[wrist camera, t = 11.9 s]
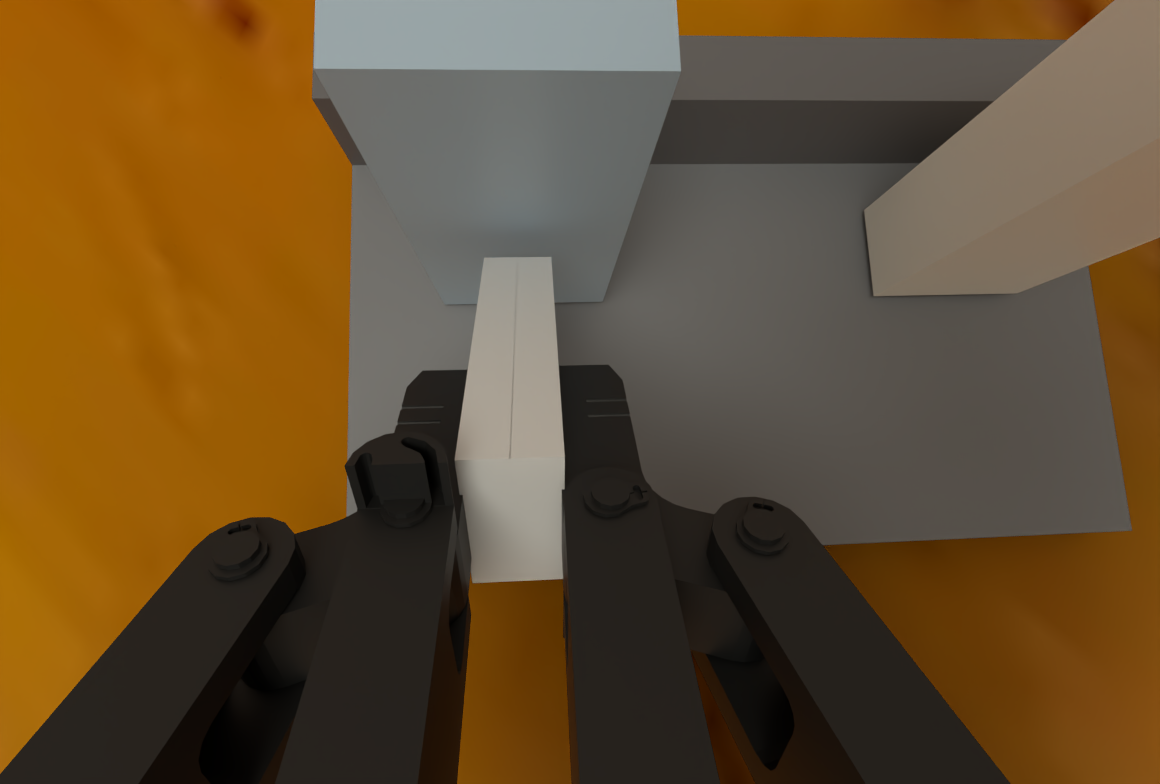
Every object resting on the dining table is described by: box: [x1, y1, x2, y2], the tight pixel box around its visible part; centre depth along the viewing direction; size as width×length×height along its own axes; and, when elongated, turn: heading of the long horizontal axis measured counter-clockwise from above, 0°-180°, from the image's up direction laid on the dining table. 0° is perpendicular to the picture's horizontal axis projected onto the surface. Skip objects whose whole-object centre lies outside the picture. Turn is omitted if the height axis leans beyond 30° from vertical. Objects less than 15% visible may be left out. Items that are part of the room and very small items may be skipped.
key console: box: [312, 32, 1132, 545], centre depth 19 cm, size 25×16×5 cm, turn 92°
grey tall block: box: [314, 0, 681, 305], centre depth 14 cm, size 5×3×11 cm, turn 92°
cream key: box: [864, 0, 1160, 296], centre depth 15 cm, size 5×3×11 cm, turn 92°
